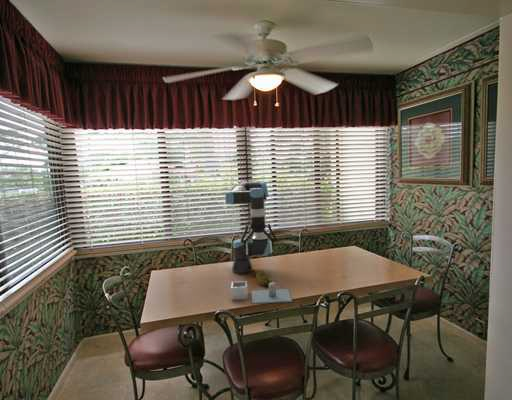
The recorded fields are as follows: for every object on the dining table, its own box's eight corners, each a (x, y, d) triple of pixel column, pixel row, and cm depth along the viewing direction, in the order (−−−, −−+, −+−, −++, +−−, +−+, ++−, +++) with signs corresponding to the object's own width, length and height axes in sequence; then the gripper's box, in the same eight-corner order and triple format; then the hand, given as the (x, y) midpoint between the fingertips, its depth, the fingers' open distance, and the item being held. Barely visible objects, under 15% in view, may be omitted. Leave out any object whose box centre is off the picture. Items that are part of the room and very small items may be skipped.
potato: (259, 288, 181) (258, 276, 180) (255, 281, 194) (255, 269, 193) (272, 287, 183) (272, 274, 182) (267, 279, 195) (267, 268, 195)
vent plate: (251, 291, 177) (251, 279, 176) (287, 289, 178) (287, 277, 177) (252, 303, 161) (251, 290, 160) (292, 301, 162) (291, 288, 161)
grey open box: (232, 293, 176) (231, 281, 176) (247, 292, 177) (246, 281, 176) (231, 299, 167) (231, 287, 167) (247, 298, 168) (246, 287, 167)
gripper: (234, 218, 159) (236, 256, 161) (280, 215, 160) (282, 254, 162) (235, 216, 166) (237, 252, 168) (279, 213, 167) (280, 250, 169)
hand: (259, 253), depth 165 cm, fingers open, 13 cm apart
